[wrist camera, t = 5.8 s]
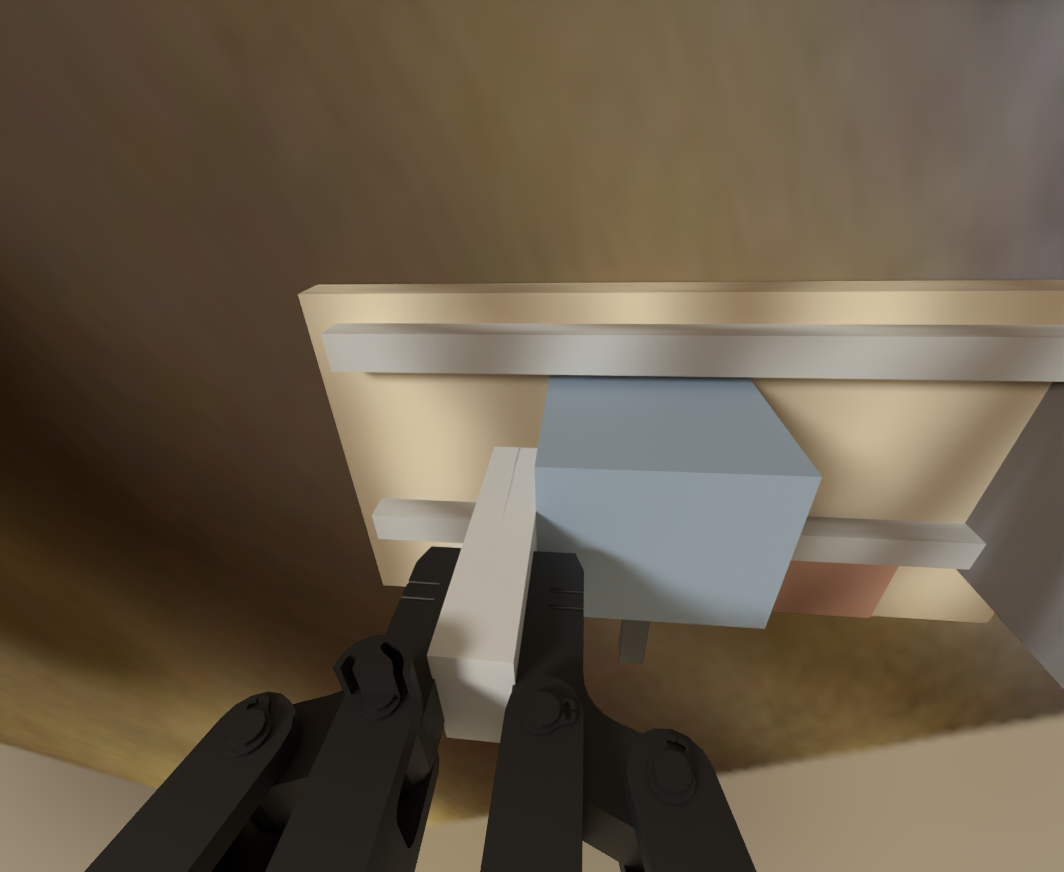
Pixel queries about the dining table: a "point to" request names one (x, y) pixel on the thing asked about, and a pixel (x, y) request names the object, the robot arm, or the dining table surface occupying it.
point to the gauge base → (788, 387)
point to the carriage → (670, 498)
